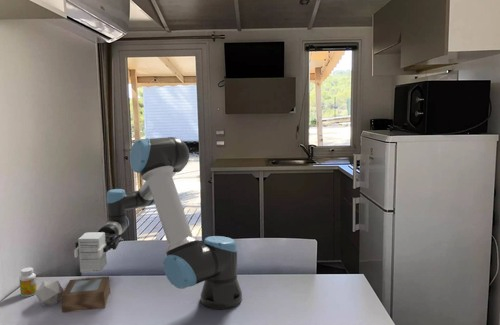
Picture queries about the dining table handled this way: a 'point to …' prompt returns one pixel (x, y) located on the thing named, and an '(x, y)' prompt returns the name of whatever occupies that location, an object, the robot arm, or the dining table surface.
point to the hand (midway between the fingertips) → (87, 253)
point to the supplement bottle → (27, 282)
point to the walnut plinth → (85, 294)
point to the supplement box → (91, 252)
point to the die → (49, 292)
